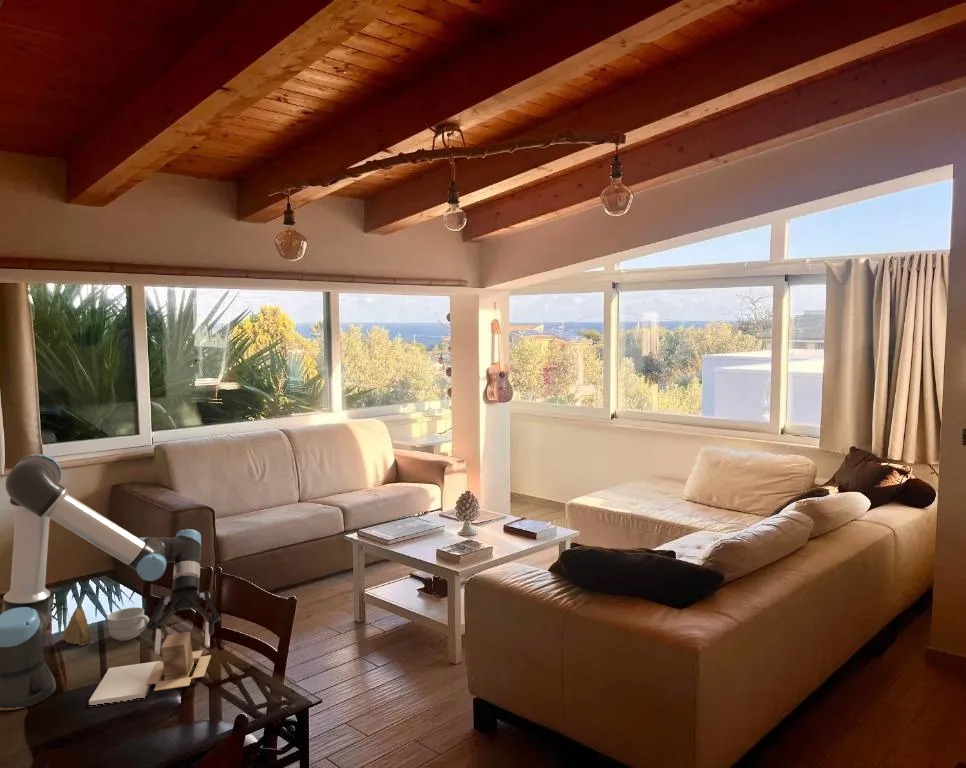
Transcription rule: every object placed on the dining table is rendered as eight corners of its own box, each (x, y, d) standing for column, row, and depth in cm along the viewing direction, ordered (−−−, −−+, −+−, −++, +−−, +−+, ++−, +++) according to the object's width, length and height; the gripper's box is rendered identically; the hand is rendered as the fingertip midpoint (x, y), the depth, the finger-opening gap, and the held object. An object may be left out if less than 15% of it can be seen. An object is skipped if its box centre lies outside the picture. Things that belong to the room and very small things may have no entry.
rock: (98, 636, 235) (99, 620, 244) (77, 621, 231) (78, 605, 240) (70, 661, 233) (72, 644, 242) (48, 646, 229) (50, 630, 238)
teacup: (102, 641, 237) (99, 617, 236) (132, 626, 246) (129, 603, 245) (131, 648, 230) (128, 624, 229) (160, 633, 240) (158, 609, 239)
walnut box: (164, 685, 207) (160, 648, 206) (171, 670, 215) (167, 634, 214) (189, 681, 208) (184, 644, 207) (194, 667, 217) (190, 631, 215)
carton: (142, 698, 201) (141, 691, 200) (160, 662, 220) (159, 656, 220) (201, 690, 203) (200, 683, 203) (214, 655, 223) (213, 648, 223)
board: (89, 706, 198) (88, 701, 198) (109, 672, 216) (109, 667, 216) (145, 698, 201) (144, 693, 201) (160, 665, 218) (160, 660, 218)
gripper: (231, 578, 231) (230, 647, 218) (145, 589, 226) (139, 660, 213) (227, 568, 225) (225, 638, 212) (139, 579, 220) (132, 651, 208)
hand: (182, 649), depth 213 cm, fingers open, 13 cm apart
